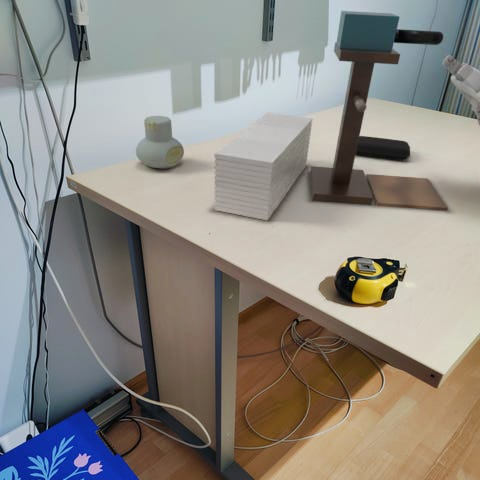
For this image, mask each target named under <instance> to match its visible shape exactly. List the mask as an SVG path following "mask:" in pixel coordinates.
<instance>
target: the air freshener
mask: <svg viewBox="0 0 480 480" xmlns="http://www.w3.org/2000/svg"><path fill="white" fill-rule="evenodd" d="M143 122H144V133H145V134H144V135H145V137H144V138H143V139H141V140H140V141H139V142H138V143H137V145H136V148H135V154H136V157H137V159H138V160H139V161H140V163H142V164H143V165H145V166H147V167H149V168H154V169H171V168H173V167H174V166H176V165H178V164H179V163H180V162H181V161H182V160H183V157H184V154H185V148H184V147H183V144H182V142H180V141H179V140H178V139H176V138H174V137H173V127H172V119H170V117H168V116H165V115H151V116H147V117H145V118H144V121H143Z"/></svg>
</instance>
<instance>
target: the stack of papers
mask: <svg viewBox="0 0 480 480" xmlns="http://www.w3.org/2000/svg"><path fill="white" fill-rule="evenodd" d="M312 125H313V117H305V116H297V115H290V114H283V113H276V112H266V113H265V114H264V115H262V116H261V117H260V118H258V119H257V120H256V121H255V122H253V123H252V124H251V125H250V126H248V127H247V128H246V129H244V130H243V131H242V132H240V133H239V134H238V135H237V136H235V137H234V138H232V140H230V141H228V142H227V143H226V144H225V145H224V146H222V147H221V148H220V149H219V150H217V151H216V152H214V211H218V212H223V213H228V214H232V215H239V216H242V217H243V216H244V217H248V218H253V219H258V220H262V221H263V220H264V221H269V219H270V218H271V216H272V215H273V213H274V212H275V210H276V209H277V208H278V206H279V205H280V204H281V202H282V201H283V200H284V198H285V197H286V195H287V194H288V192H289V191H290V190H291V188H292V187H293V185H294V184H295V182H296V181H297V180H298V178H299V177H300V175H301V174H302V173H303V171H304V170H305V168H306V167H307V161H308V155H309V154H308V153H309V147H310V139H311V132H312V128H313V127H312Z"/></svg>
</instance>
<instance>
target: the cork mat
mask: <svg viewBox="0 0 480 480" xmlns="http://www.w3.org/2000/svg"><path fill="white" fill-rule="evenodd" d="M365 177H366V180H367V182H368V185H369V188H370V190H371V193H372V196H373V200H374V201H375V205H376V206H382V207H395V208H407V209H420V210H432V211H434V210H435V211H445V212H446V211H448V206H447V205H446V204H445V202H444V200H443V199H442V197H441V196H440V194H439V193H438V191H437V190H436V189H435V187H434V185H433V184H432V183H431V181H430V180H429V178H425V177H412V176H400V175H399V176H398V175H384V174H371V173H370V174H369V173H366V174H365Z"/></svg>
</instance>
